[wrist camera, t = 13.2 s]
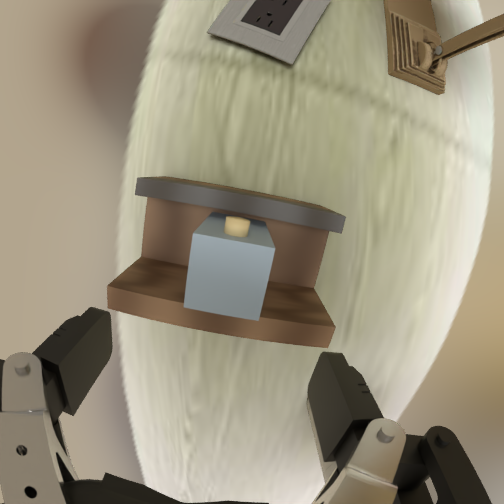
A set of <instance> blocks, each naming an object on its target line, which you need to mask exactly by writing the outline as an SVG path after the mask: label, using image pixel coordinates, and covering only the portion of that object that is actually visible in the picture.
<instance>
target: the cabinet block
mask: <svg viewBox="0 0 504 504" xmlns="http://www.w3.org/2000/svg"><path fill="white" fill-rule="evenodd" d="M274 253H275V246H274V243H273V241H272V238H271V236H270V233H269V231H268V228H267V225H266V223H265V221H260V220H255V219H250V218H244V217H239V216H234V215H228V214H223V213H217V212H212V213H211V214H210V215H209V216H208V217H207V218H206V219H205V220H204V222H203V223H202V224H201V225H200V226H199V227H198V228H197V229H196V230H195V231H194V233H193V237H192V244H191V251H190V258H189V265H188V273H187V281H186V290H185V298H184V307H185V308H190V309H195V310H200V311H205V312H210V313H215V314H221V315H226V316H232V317H238V318H244V319H250V320H256V321H259V317H260V313H261V309H262V305H263V300H264V296H265V292H266V288H267V283H268V279H269V275H270V270H271V266H272V262H273V257H274Z"/></svg>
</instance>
